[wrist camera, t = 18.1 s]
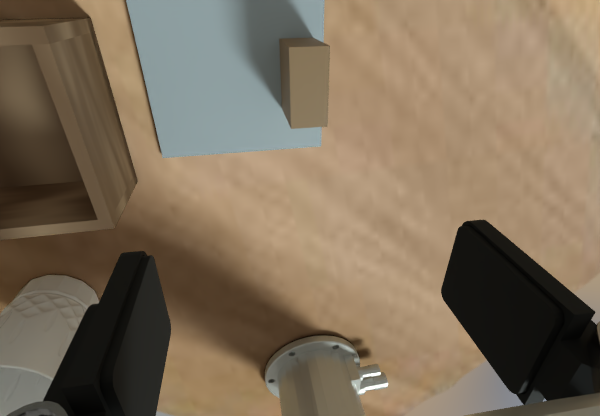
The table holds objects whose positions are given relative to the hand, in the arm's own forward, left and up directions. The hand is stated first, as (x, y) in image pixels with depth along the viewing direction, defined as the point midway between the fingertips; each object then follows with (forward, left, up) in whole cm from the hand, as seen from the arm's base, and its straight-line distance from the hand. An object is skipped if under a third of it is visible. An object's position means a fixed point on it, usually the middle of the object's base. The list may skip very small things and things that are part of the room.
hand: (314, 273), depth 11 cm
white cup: (+21, +18, -20) cm, 34 cm away
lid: (+2, -2, -21) cm, 21 cm away
